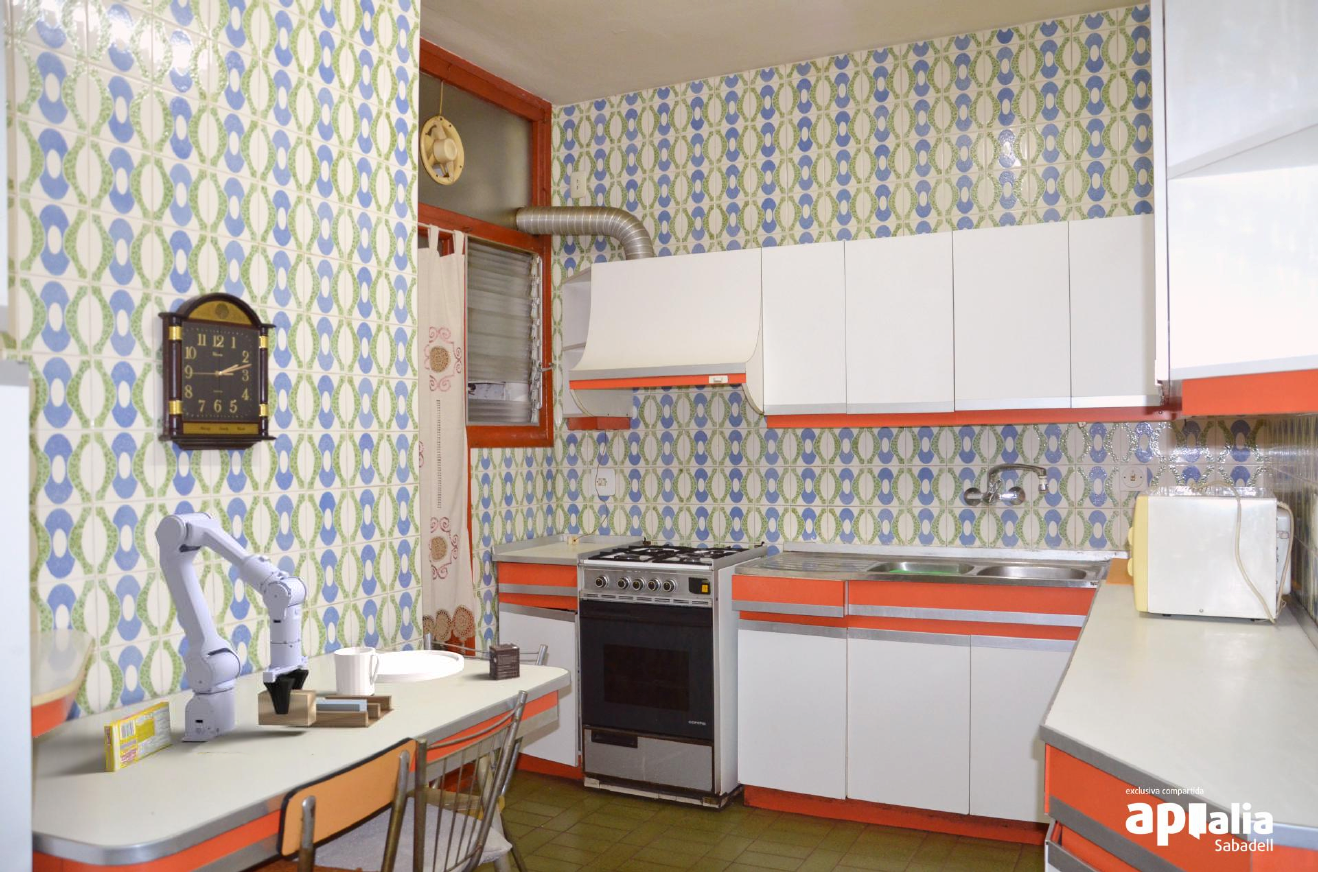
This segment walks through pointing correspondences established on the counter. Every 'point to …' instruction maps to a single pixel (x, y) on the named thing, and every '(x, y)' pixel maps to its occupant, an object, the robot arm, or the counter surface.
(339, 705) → the blue slat
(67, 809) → the counter surface
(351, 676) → the mug
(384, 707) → the rack
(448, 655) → the plate
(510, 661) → the box
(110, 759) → the candy box
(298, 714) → the wooden block
